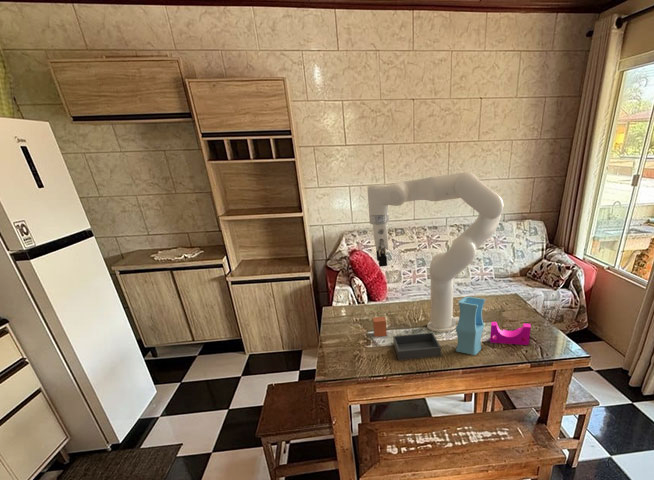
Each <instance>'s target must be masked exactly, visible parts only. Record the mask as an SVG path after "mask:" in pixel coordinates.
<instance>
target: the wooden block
mask: <svg viewBox="0 0 654 480" xmlns="http://www.w3.org/2000/svg"><path fill="white" fill-rule="evenodd" d="M372 326H373V334H374V337H375V338H377V337H387V336H388V335H387V332H388V331H387V321H386V317H385V316H377V317H376V316H375V317H372Z"/></svg>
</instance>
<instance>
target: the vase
mask: <svg viewBox="0 0 654 480" xmlns="http://www.w3.org/2000/svg"><path fill="white" fill-rule="evenodd" d="M485 302H486V298H481V297H474V296H464V297H463V298H461V299H460V300H458V307H459V322H457V324H456V328H455V332H456V336H457V344H456V349H455V352H459V353H463V354H468V355H472V356H476V355H478V354H479V352H480V351H481V350H482V334H483V332H484V328H485V324H484V320H483V309H484V305H485Z"/></svg>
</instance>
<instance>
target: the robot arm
mask: <svg viewBox="0 0 654 480" xmlns="http://www.w3.org/2000/svg"><path fill="white" fill-rule="evenodd" d="M457 199H461V200H462V201H464V203H466V204H467V205H468V206H469V207H471V208H472V209H473V210H474V211H476V212H477V213H478V216H477V218H476V219H475V220H474V221H473V222H472V223H471V224H470V225H469V226H468V227H467V228H466V229H465V230H463V232H462V233H460V234H459V235H458V236H457V237H456V238H454V239H453V241H452V242H451V245H450V248H449V249H447V250H446V251H445V252H439V253H437V254H435V255H434V256H433V257H432V258H431V261H430V265H429V276H430V321H429V322H427V324H426V327H427V329H428V330H430V331H432V332H436V333H447V332H451V331H453V330H456V327H457V324H458V322H459V318H460V316H453V315H454V313H453V312H454V281H455V280H454V278H456V277H457V275H459V274H460V273H462V272H463V271H464V270H465V269H466V268H467V267H468V266H469V265H470V264H471V263H472V262H473V261H474V259H475V257H476V254H477V250H479V248H480V247H481V246H482V245H483V244H485V243H486V241H488V240H489V239H490V238H491V237H492V236H493V234H494V233H495V232H496V230H497V229H498V227H499V224H500V221H501V218H502V213H503V211H504V206H505V205H504V200H503V198H502V197H501V196H500V195H499V194H498V193H497V192H495V191H493V190H492V189H491V188H489V187H488V186H487V185H486V184H485V183H483V181H481V180H480V178H478V177H477V176H476V175H475V174H474V173H473V172H470V171H464V172H457V173H451V174H450V173H449V174H443V175H442V174H441V175H436V176H429V177H425V178H419V179H412V180H411V179H410V180H403V181H398V182H394V183H392V184H389V185H385V184H382V183H381V184H370V185H368V187H367V202H368V213H369V214H368V216H369V217H368V218H369V224H370V225H372V231H373V241H374V247H375V249H376V261H377V262H378V266H379V267H381V268H382V267H387V266H388V258H387V257H388V256H387V251H389V249H390V246H389V232H388V224H389V223H390V218H389V217H390V215H389V206H393V207H399V206H402V205H403V204H404V203H407V202H413V201H429V202H441V201H449V200H457Z"/></svg>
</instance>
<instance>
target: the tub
mask: <svg viewBox="0 0 654 480" xmlns="http://www.w3.org/2000/svg"><path fill="white" fill-rule="evenodd" d="M392 339H393V340H392V341H393V346H394V350H395V353H396V357H397V359H398V361H404V360H412V359H413V360H414V359H422V358H432V357H442V347H441V344H440V343H439V341H438V340H437V337H436V335H435V334H434V332H425V333H413V334H404V335H395V336H393V337H392Z"/></svg>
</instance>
